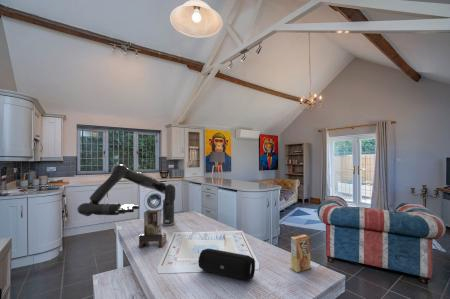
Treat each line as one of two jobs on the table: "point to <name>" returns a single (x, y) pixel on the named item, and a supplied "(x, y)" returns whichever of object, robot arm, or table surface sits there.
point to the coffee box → (152, 222)
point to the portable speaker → (227, 263)
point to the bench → (152, 239)
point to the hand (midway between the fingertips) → (136, 208)
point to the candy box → (300, 253)
